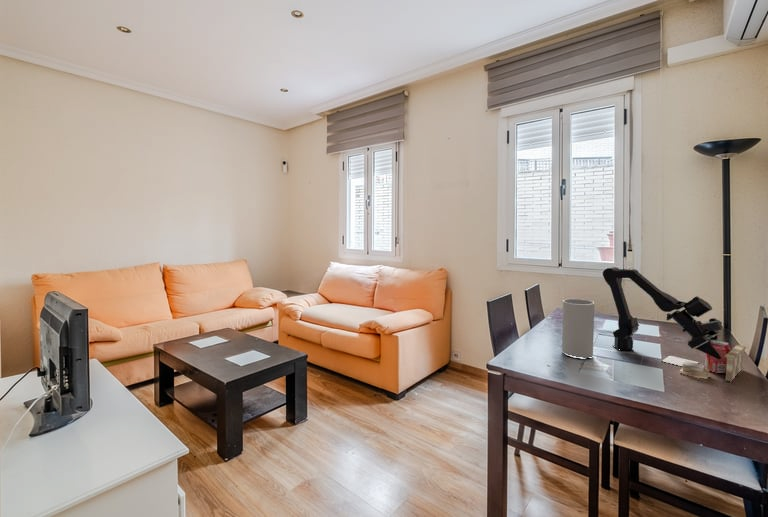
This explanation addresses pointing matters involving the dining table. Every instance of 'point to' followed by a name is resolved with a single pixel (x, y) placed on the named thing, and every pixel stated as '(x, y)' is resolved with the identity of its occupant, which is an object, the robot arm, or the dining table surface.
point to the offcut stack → (694, 369)
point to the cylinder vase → (578, 327)
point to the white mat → (676, 360)
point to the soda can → (713, 362)
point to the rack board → (734, 362)
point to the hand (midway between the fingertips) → (722, 356)
